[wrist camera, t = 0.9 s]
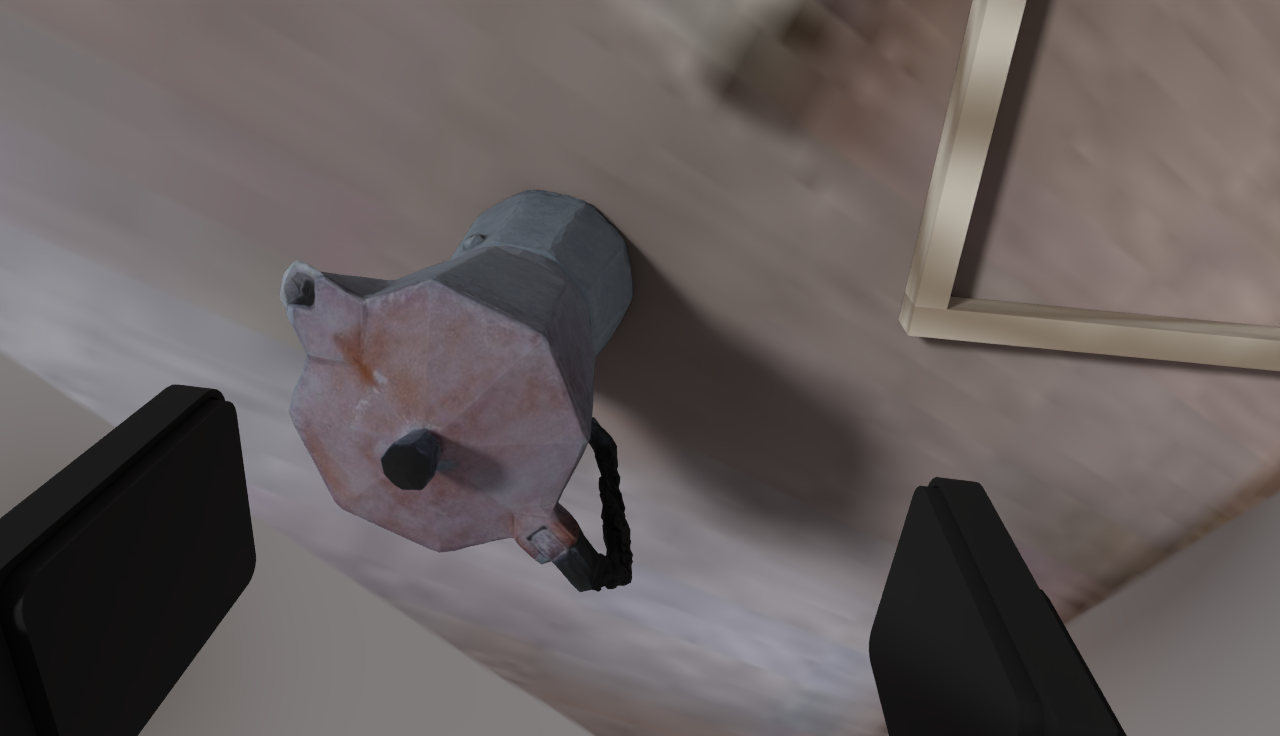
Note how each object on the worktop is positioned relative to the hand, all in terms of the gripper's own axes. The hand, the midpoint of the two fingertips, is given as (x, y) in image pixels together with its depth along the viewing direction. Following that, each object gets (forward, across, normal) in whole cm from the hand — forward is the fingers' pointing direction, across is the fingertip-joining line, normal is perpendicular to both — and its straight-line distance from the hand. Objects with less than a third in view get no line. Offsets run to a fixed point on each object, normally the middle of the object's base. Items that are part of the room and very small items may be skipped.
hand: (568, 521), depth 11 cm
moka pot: (+30, +4, +8) cm, 31 cm away
